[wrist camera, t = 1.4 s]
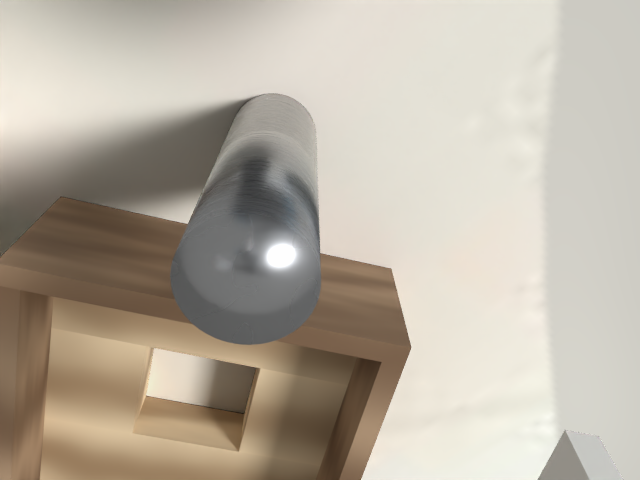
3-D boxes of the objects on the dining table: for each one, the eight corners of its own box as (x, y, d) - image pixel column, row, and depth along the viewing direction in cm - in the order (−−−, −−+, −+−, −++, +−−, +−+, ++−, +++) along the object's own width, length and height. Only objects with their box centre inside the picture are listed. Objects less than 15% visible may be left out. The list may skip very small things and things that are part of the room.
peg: (240, 84, 28) (182, 197, 15) (325, 105, 28) (337, 232, 16) (224, 165, 29) (160, 329, 17) (305, 184, 30) (301, 357, 17)
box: (60, 196, 30) (-6, 262, 24) (391, 268, 32) (411, 347, 26) (41, 450, 37) (-14, 553, 31) (313, 496, 39) (314, 601, 33)
